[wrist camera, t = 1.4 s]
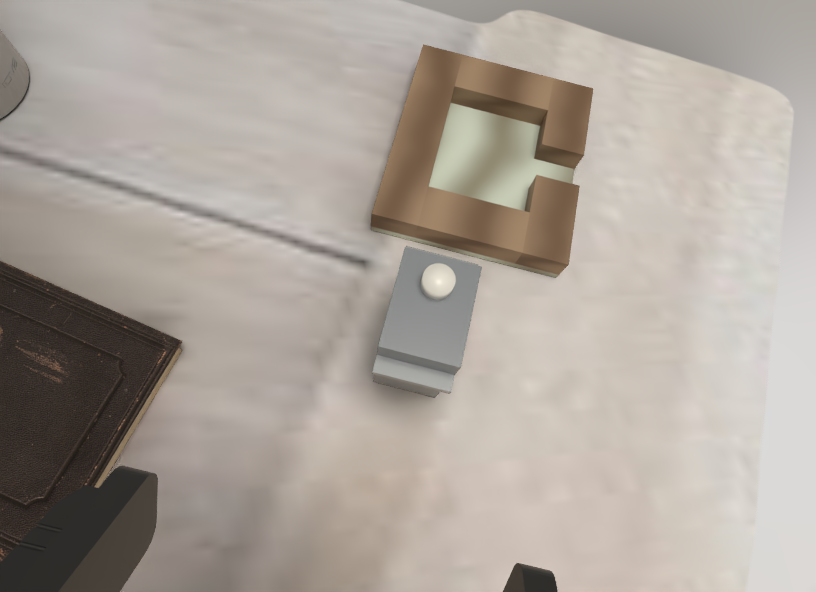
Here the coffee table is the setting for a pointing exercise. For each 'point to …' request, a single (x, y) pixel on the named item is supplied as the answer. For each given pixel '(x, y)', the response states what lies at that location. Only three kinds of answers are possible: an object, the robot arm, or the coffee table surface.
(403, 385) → the block
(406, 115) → the walnut plate
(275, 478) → the coffee table surface
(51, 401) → the hardcover book
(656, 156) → the coffee table surface
